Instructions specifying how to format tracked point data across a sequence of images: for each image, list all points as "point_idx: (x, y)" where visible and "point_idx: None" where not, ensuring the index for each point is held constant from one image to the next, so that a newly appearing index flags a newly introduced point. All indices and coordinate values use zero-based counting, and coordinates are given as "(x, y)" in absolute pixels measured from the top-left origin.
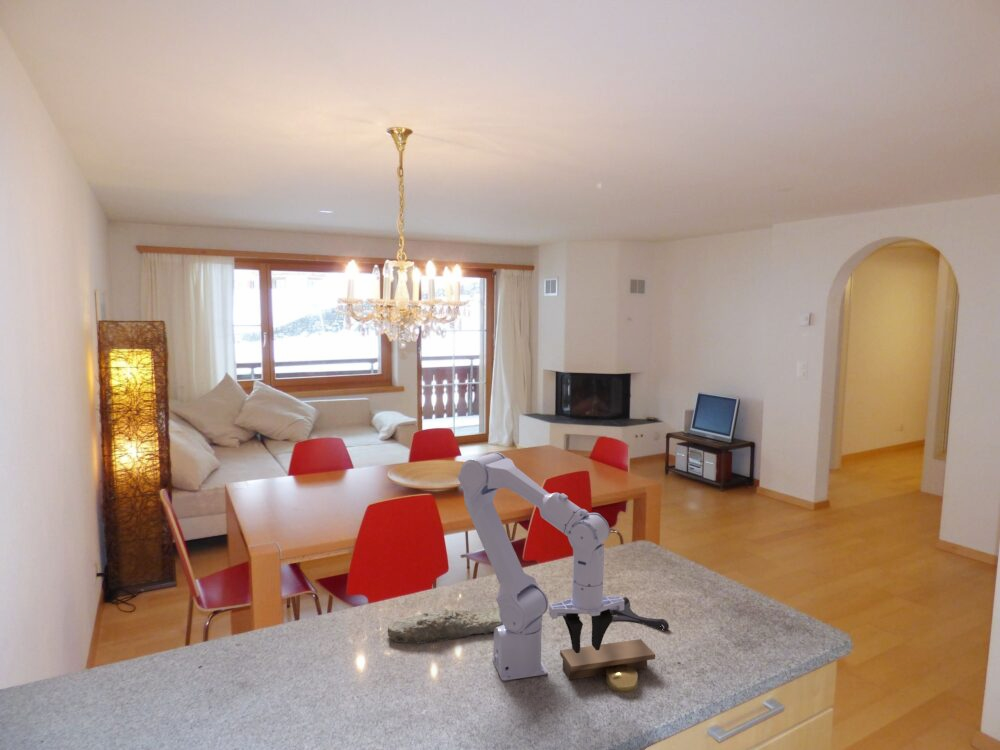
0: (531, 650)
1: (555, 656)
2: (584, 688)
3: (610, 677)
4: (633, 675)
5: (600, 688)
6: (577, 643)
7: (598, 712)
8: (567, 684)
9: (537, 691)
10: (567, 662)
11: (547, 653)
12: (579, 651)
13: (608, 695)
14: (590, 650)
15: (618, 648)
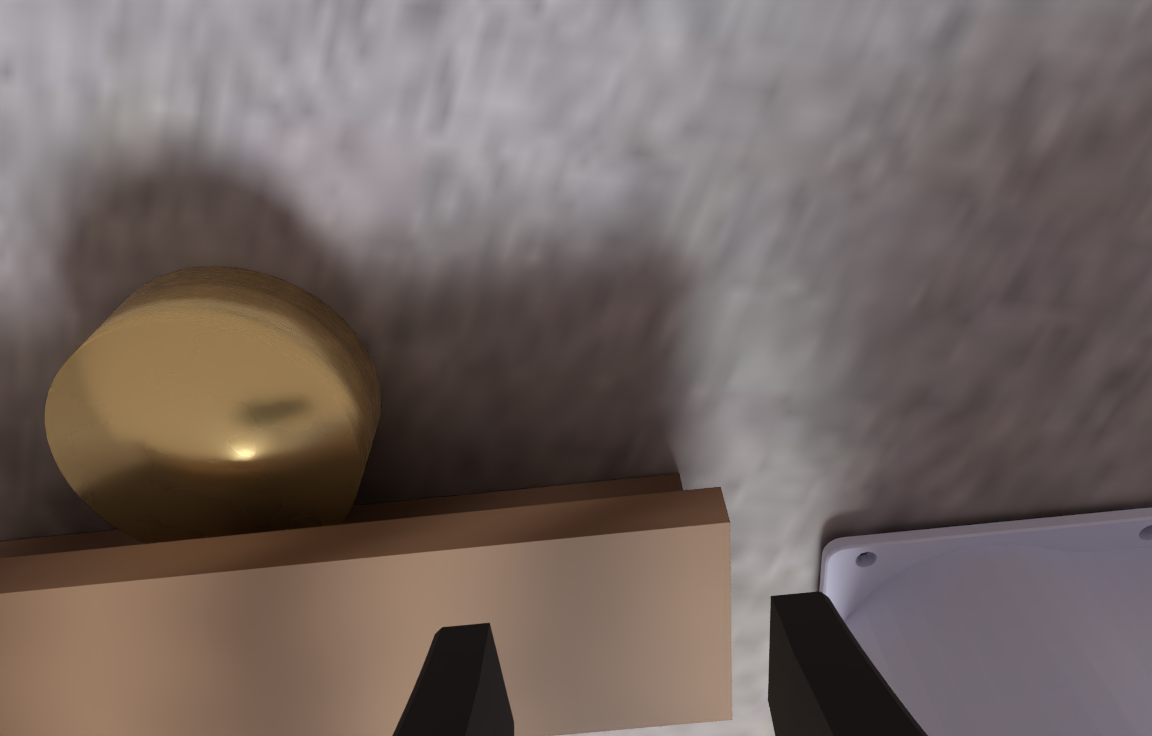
0: (1070, 721)
1: None
2: (589, 363)
3: (338, 399)
4: (91, 401)
5: (448, 348)
6: (891, 734)
7: (570, 3)
8: (714, 423)
9: (999, 369)
10: (727, 584)
11: (723, 720)
12: (779, 612)
13: (398, 250)
14: None
15: (182, 705)
